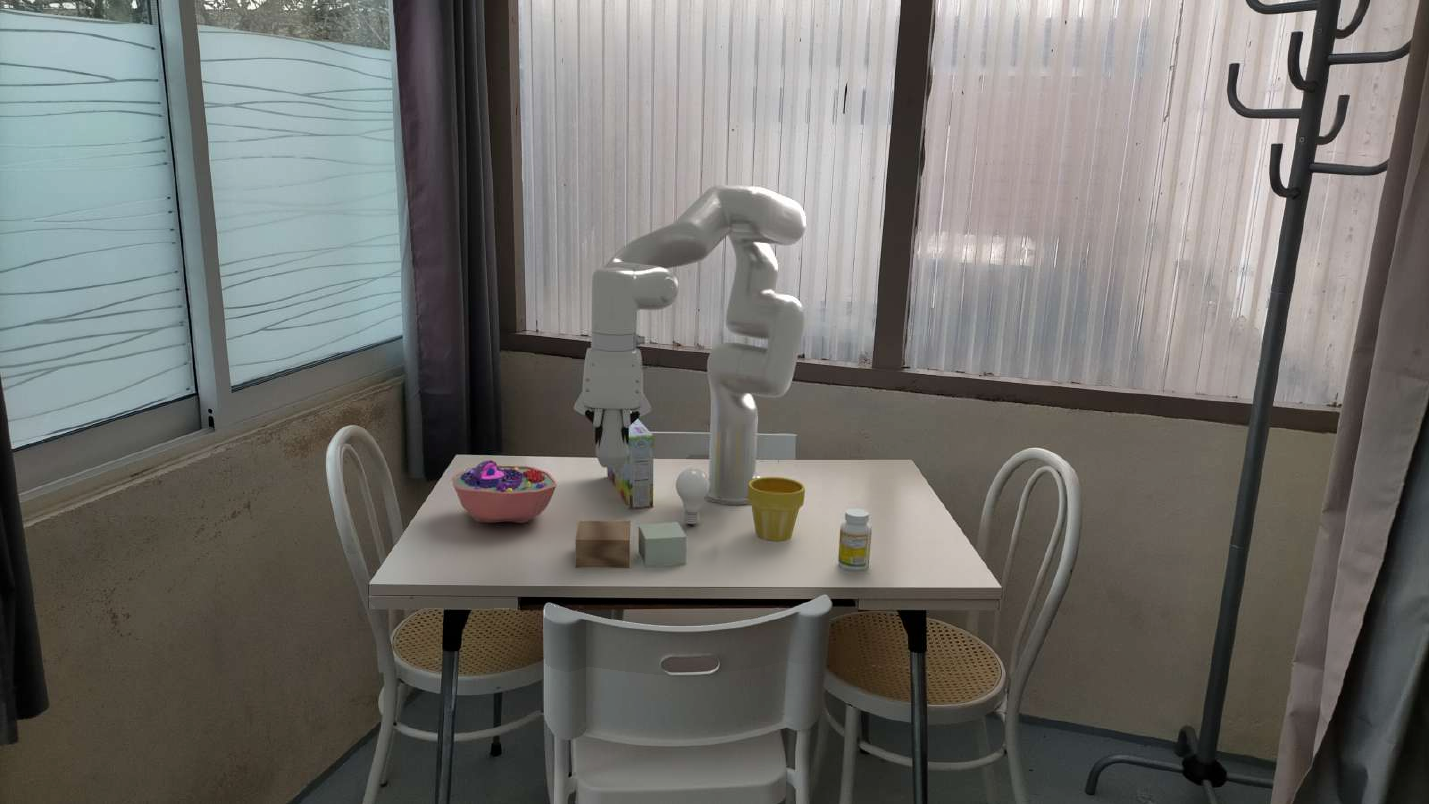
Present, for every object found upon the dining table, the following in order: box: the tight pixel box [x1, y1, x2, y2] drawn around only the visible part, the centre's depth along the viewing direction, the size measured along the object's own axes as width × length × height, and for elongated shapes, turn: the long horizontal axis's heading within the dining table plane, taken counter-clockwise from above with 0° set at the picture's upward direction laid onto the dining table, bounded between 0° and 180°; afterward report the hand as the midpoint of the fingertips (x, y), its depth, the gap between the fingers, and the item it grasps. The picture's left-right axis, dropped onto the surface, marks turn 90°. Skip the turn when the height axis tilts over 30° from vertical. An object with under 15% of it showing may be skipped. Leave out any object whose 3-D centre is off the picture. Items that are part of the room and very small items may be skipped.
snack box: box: [606, 410, 655, 510], centre depth 209 cm, size 21×6×15 cm, turn 18°
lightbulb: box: [675, 467, 710, 526], centre depth 192 cm, size 6×6×11 cm
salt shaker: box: [595, 409, 629, 469], centre depth 175 cm, size 6×6×13 cm
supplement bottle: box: [837, 508, 873, 571], centre depth 176 cm, size 5×5×10 cm
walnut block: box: [575, 520, 631, 569], centre depth 176 cm, size 9×9×5 cm
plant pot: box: [748, 476, 806, 542], centre depth 188 cm, size 10×10×10 cm
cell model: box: [451, 459, 558, 524], centre depth 191 cm, size 17×20×11 cm
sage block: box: [637, 521, 688, 568], centre depth 176 cm, size 7×7×5 cm
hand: (611, 446), depth 176 cm, fingers closed on salt shaker, 3 cm apart
